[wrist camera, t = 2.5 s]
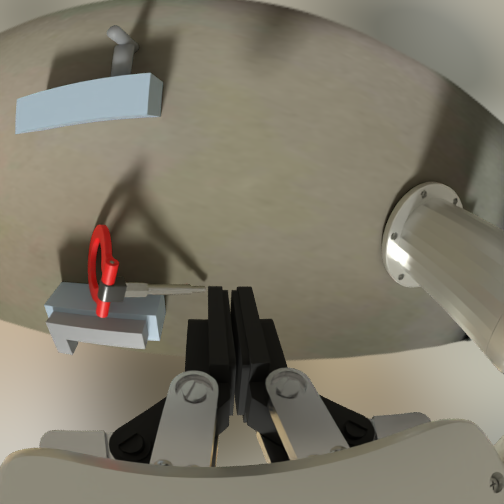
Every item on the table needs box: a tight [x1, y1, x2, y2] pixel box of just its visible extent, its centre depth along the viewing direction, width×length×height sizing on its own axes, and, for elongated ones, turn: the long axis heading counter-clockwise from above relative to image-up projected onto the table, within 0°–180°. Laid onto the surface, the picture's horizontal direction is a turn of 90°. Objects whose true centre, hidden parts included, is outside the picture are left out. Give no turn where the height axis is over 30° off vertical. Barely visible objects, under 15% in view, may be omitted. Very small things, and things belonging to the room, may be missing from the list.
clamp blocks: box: [16, 25, 166, 355], centre depth 19 cm, size 12×28×6 cm, turn 175°
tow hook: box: [88, 225, 206, 318], centre depth 24 cm, size 7×10×7 cm
